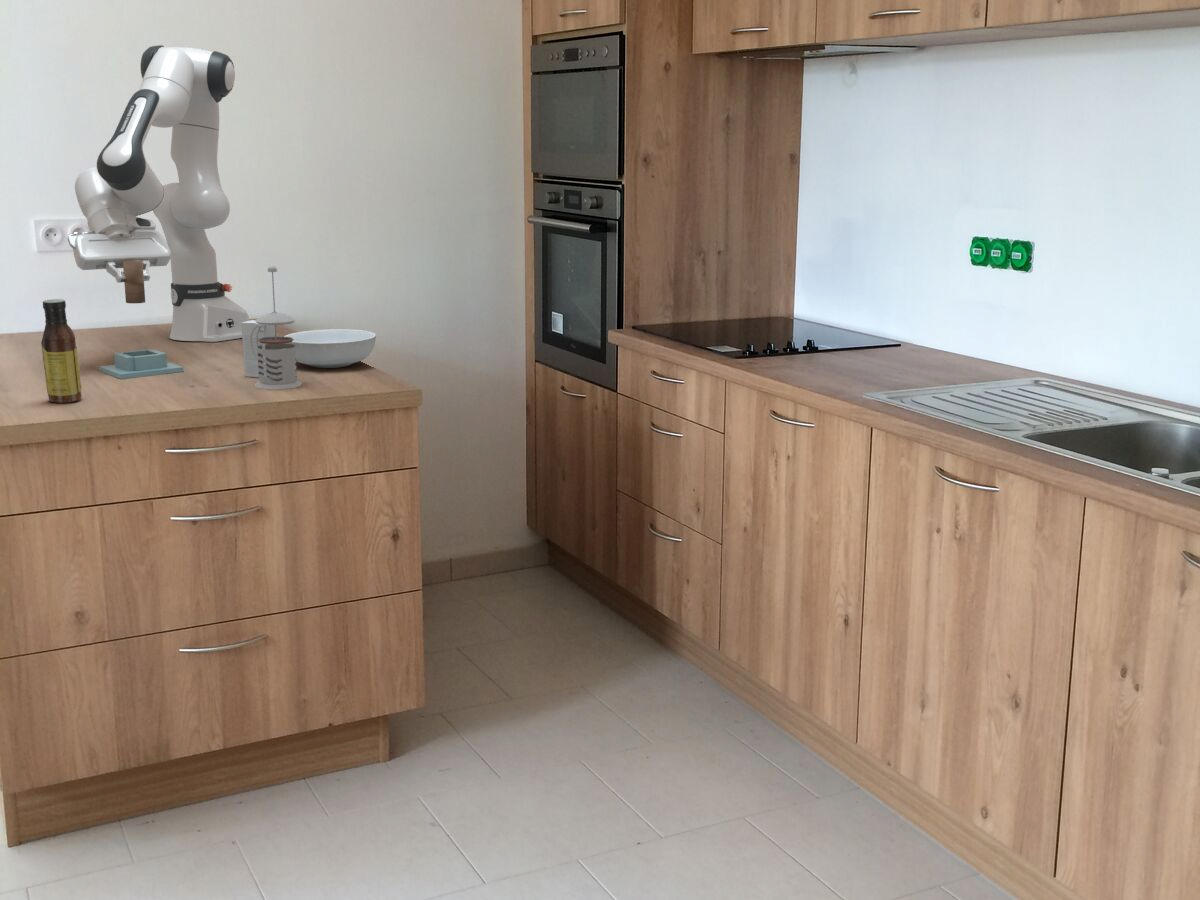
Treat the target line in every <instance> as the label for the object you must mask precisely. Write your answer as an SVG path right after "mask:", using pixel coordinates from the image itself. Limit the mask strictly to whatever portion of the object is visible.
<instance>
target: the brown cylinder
mask: <svg viewBox="0 0 1200 900" xmlns="http://www.w3.org/2000/svg"><path fill="white" fill-rule="evenodd" d="M122 269H123V271H122V272H124V275H125V276H126V280H125V282H123V283H124V284H123V285H124V295H125V303H126V304H145V303H146V293H145V281H144V275H143V261H142V260H124V261H123V268H122Z"/></svg>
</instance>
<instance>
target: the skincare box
mask: <svg viewBox="0 0 1200 900" xmlns="http://www.w3.org/2000/svg"><path fill="white" fill-rule="evenodd" d="M249 320H250V319H249ZM255 320H256V319H251V320H250V321H246V322H242V323H241V324H242V338H241V339H242V352H243V367H244V376H245V377H249V378H259V371H258V358H257V357H258V353H257V347H258V346H260V345H262V349H265V345H266V344H263V343H260V342H259V341H258V346H257V338H256V336H257V332H258V329H259V327H261V326H262V325H263V324H258V323H256V321H255ZM256 326H259V327H256ZM265 326H266V331H264V330H265ZM265 326H263V327H261V328H260V330H261V331H264V332H260V331H259V333H258V340H259V339H260V338H264V337H274V336H275V325H265ZM255 327H256V328H255ZM254 328H255V330H254V331H253V334H252V338H251V333H252V330H253V329H254ZM250 338H251V339H252V347H253V351H254V353H255V354H256V355H257V357H256V356H255V355H254V353H253V351H252V348H251V340H250ZM263 356H264V355H263ZM263 358H264V357H263ZM264 359H265V358H264ZM265 360H266V359H265ZM263 364H264V365H266V363H265V362H263ZM263 370H264V371H266V369H265V368H264V367H263ZM264 376H265V377H267V375H266V374H264Z"/></svg>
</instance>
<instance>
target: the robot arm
mask: <svg viewBox="0 0 1200 900" xmlns="http://www.w3.org/2000/svg"><path fill="white" fill-rule="evenodd" d="M140 74H141V78H142V80H141V81H142V82H141V83H140V86H139V90H137V91H136V92H135V93H133V94H132V96H131V97H130V99H129V100H128V103H127V105H125V106H126V107H125V109H124V110H123V113H122V115H121V117H120V120H119V122H118V125H117V126H116V129H115V131H114V133H113V134H112V137H111V138H110V140H109V141H108V142H107V144H106V145H105V146H104V147H103V148H102V150H101V151H100V152H99V154H98V157H97V160H96V166H92V167H89V168H86V169H84V170H83V171H81V172H80V173H79V174H78V176H77V178H76V179H75V183H74V191H75V195H76V200H77V203H78V205H79V208H80V211H81V213H82V214H83V216H84V217H85V218H86V220H87V227H88V228H89V231H82V232H81V231H80V232H79V231H75V232H72V233H71V234H69V235H68V237H67V242H68V244H69V246H70V248H72V251H73V257H74V260H75V263H76V266H77V267H78V268H79V269H80V270H83V271H91V270H92V271H93V270H106V272H107V273H108V274H109V275H110V276H112V277H113V278H115V280H116V283H124V282H125V280H126V276H125V275H124V271H120V270H119V269H123V261H124V260H142V261H143V275H144V282H148V281H149V282H150V279H151V274H150V272H149V270H150V268H152V267H165V266H167V265H168V264H169V263H170V270H171V281H172V282H171V283H170V297H171V304H172V309H173V310H172V322H171V329H170V332H169V333H170V334H169V337H168V338H169V339H170V340H174V341H184V342H208V343H209V342H210V343H213V342H215V343H216V342H222V341H230V340H236V339H243V338H242V324H241V323H242V322H246V321H250V317H249V315H248V313H247V311H246V310H245V308H243V307H241V306H240V305H238V303H235V301H233V300H232V299H230V298H229V297H227V296H225V295H226V294H225V293H231V291H232V290H233V286H232V285H231V284H230V283H222V282H220V281H218V269H217V268H218V267H217V255H216V250H215V249H214V247H213V245H212V244H211V243H210V240H209V238H208V236H207V233H206V230H209V229H213V228H216V227H220V226H221V225H223V224H224V223H225V222H226V221H227V219H228V217H229V215H230V210H231V208H230V207H231V206H230V201H229V199H228V197H227V195H226V194H225V193H224V191H223V187H222V185H221V181H220V175H219V168H218V152H219V151H218V150H219V132H220V105H219V103H220V102H221V101H222V99H223V98H225V97H227V96H228V95H229V94H230V93H231V92H232V90H233V88H234V84H235V80H236V72H235V65H234V62H233V60H232V59H231V57H230V56H229V55H227V54H225V53H222V52H220V51H217V50H213V51H210V50H207V49H203V48H198V47H191V46H187V47H183V46H164V45H162V44H161V45H160V44H159V45H152V46H149V47H148V48H147V49H146V50H144V52H143V53H142V55H141V59H140ZM151 127H155V128H162V129H163V128H165V129H166V128H171V129H172V130H171V141H170V142H171V143H170V144H171V145H170V157H171V159H172V161H173V163H174V164H175V167H176V171H177V176H178V182H170V183H168V184H164V185H163V184H162V183H161V181H160V180H159V178H158V176H157V175H156V173H155V172H154V171H153V169H152V168H151V166H150V164H149V163H148V161H147V159H146V157H145V152H144V148H143V147H144V143H145V140H146V138H147V136H148V133H149V131H150V129H151ZM150 212H153V214H154V216H155V217H156V218H157V220H158V221H159V223H160V225H161V228H162V230H163V231H162V232H163V234H164V235H162V233H160V232H159V231H158V230H156V228H157V227H156V223H155V221H154V220H152V219H147V218H143V217H138V216H141V215H144V214H147V213H150ZM164 236H165V237H164Z"/></svg>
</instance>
